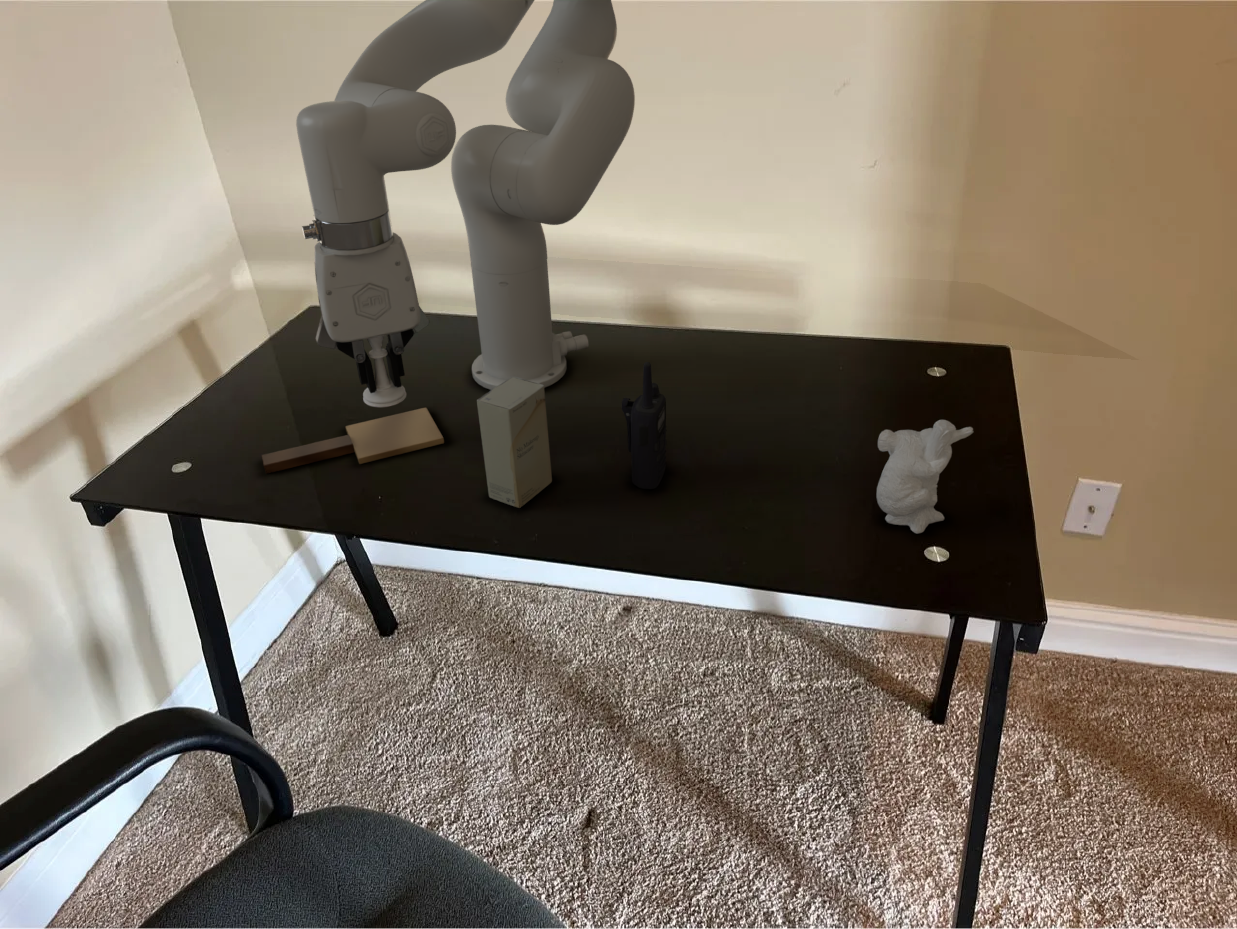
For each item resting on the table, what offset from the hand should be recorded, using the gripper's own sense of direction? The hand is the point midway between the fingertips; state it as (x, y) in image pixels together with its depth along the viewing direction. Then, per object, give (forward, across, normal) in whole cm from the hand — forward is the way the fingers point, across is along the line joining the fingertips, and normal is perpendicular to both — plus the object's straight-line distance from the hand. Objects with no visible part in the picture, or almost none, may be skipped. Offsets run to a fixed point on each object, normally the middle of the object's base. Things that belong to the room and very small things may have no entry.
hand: (383, 383), depth 106 cm
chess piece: (+2, 0, 0) cm, 2 cm away
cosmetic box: (+8, +10, -17) cm, 21 cm away
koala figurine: (+7, +44, -40) cm, 60 cm away
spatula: (+7, -5, 0) cm, 9 cm away
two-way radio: (+7, +23, -21) cm, 32 cm away
